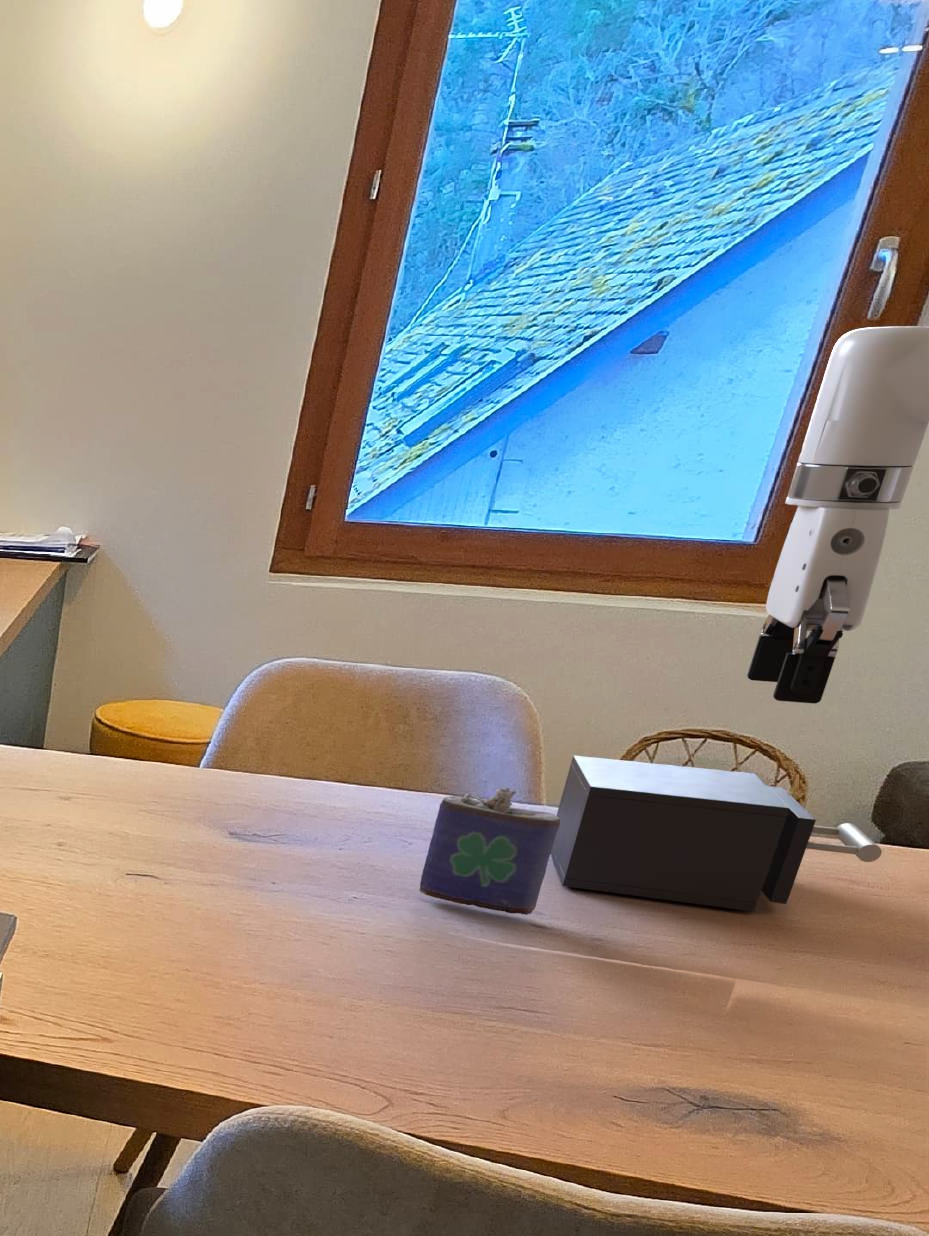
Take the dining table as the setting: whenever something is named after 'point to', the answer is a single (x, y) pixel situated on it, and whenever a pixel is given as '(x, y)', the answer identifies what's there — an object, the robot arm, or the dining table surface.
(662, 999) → the dining table surface
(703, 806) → the drawer cabinet
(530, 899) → the flask
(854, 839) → the grey sliding drawer
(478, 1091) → the dining table surface
